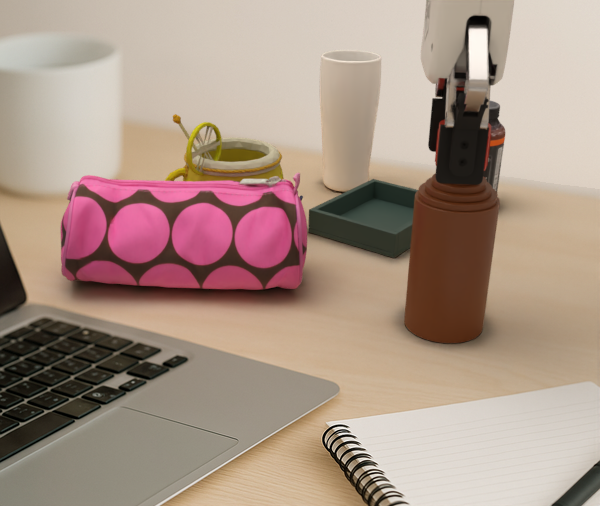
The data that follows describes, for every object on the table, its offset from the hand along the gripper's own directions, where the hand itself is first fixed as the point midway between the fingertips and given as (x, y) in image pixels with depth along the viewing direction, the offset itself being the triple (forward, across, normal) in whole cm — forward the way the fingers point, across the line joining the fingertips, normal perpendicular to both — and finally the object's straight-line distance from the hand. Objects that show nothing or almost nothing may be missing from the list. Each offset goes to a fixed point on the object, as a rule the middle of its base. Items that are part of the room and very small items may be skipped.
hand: (453, 164), depth 61 cm
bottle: (+14, -1, +1) cm, 14 cm away
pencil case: (+14, -7, -22) cm, 27 cm away
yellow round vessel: (+14, -20, -20) cm, 32 cm away
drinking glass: (+14, -34, -8) cm, 37 cm away
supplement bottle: (+14, -30, +6) cm, 33 cm away
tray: (+14, -22, -4) cm, 26 cm away
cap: (0, -1, +1) cm, 1 cm away
